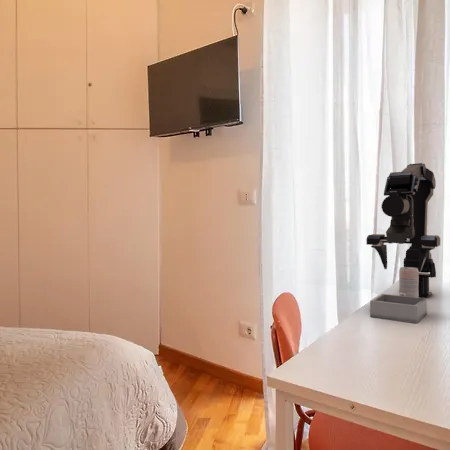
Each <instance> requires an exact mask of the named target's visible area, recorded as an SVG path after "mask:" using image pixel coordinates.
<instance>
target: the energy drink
mask: <svg viewBox="0 0 450 450" xmlns="http://www.w3.org/2000/svg"><path fill="white" fill-rule="evenodd" d="M419 273H420V272H419V271H418V268H414V267H404V266H401V267H399V270H398V274H399V275H398V277H399V278H398V283H399V284H398V285H399V286H398V287H399V289H398V290H399V291H398V295H399V296H409V297H418V298H420V296H419Z"/></svg>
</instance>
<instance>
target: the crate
mask: <svg viewBox="0 0 450 450" xmlns="http://www.w3.org/2000/svg"><path fill="white" fill-rule="evenodd" d="M427 299H428V298H427V297H426V298H425V297H419V298H418V297H409V296H399V294H388V293H381V294H380V295H377V296H376V297H374V298H372V299H371V300H370V303H369V305H370V306H369V317H371V318H377V319H381V320H382V319H383V320H390V321H397V322H404V323H410V324H411V323H412V324H419V322H421V321H422V319H423V318H425V317H426V315H427V313H428V312H427V306H428V305H427V304H428V303H427Z"/></svg>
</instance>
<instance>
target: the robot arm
mask: <svg viewBox="0 0 450 450" xmlns="http://www.w3.org/2000/svg"><path fill="white" fill-rule="evenodd" d="M436 182H437V181H436V177H435V174H434V172H433V171H432V170H431V169H429V168H427V166H426V164H425V163H422V162H419V163H409V164H407V166H406V167H405V168H404V169H402V171H394V172H393V171H392V172H389V174H388V176H387V177H386V182H385V185H384V186H385V187H384V190H383V196H387V197H385V198H384V199H383V201H382V202H381V211H382V212H383V214H385V215H386V216H387V217H391V219H390V222H389V223H390V225H389V226H388V228H387V229H386V231H385V233H383V234H382V233H381V234H379V233H377V234H376V233H371V234H369V235H367V236H366V241H365V242H366V245H368V246H369V245H370V247H371V248H372V249H373V248H374V249H375V251H376V252H377V253H378V255H379V258H380V260H381V263H382V266H383V269H384V270H387V269H388V252H387V251H388V247H387V244H400V245H402V244H403V245H404V244H409V245H410V246H409V248H407V249H406V250H405V257H404V259H403V267H414V268H418V271H419V297H426V298H427V297H430V296H431V295H432V294H433V292H432V291H430V279H433V278H436V277H437V271H436V263H435V261H434V259H433V258H432V253H431V251H432V250H435V249H436V248H438V247H439V246H441V237H440V236H439V235H429V234H428V203H429V201H431V198H432V197H433V196H434V190H435V189H436V184H437V183H436Z"/></svg>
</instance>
